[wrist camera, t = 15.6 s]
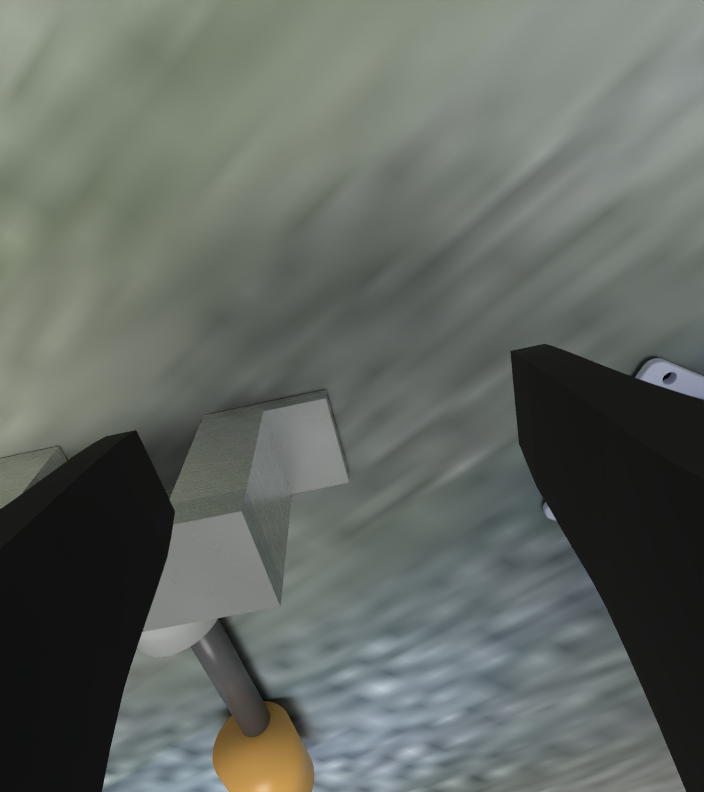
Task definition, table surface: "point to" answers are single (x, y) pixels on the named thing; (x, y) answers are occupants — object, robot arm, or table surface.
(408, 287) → the table surface
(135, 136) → the table surface
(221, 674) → the plug
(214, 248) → the table surface
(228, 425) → the housing
